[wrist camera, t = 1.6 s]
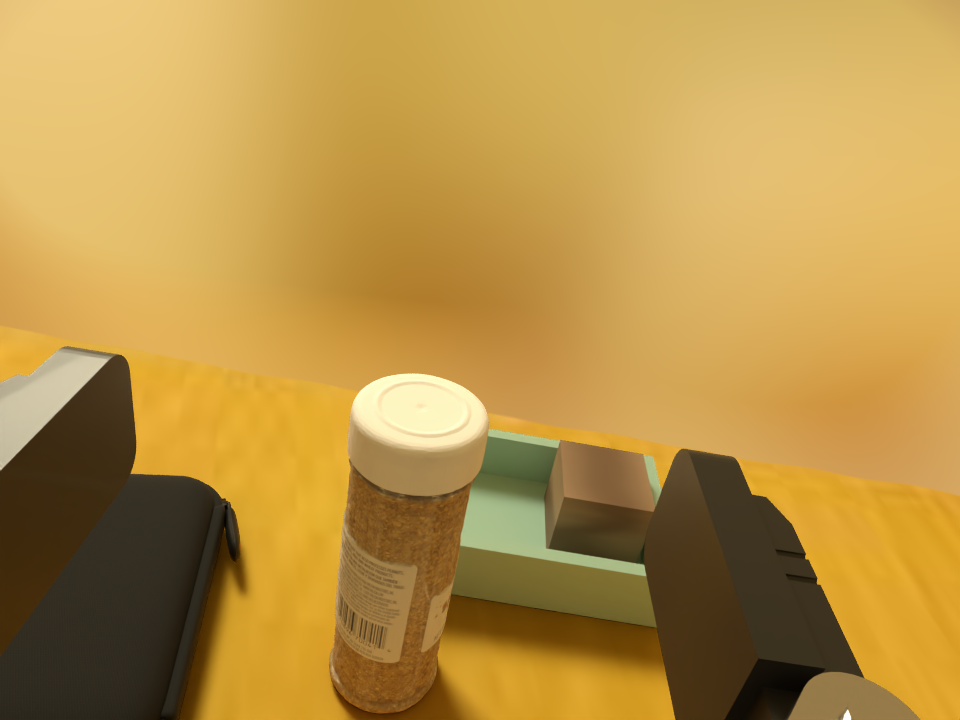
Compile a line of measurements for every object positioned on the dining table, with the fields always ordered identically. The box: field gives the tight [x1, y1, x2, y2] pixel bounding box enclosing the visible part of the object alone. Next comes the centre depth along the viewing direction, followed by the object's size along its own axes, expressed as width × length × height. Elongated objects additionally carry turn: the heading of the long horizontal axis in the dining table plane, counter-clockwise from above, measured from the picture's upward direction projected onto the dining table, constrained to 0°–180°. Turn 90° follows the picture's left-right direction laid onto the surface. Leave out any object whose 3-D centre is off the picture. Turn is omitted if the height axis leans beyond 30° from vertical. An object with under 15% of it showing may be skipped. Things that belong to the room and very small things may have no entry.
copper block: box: [544, 440, 655, 563], centre depth 37 cm, size 4×4×4 cm
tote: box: [451, 429, 661, 628], centre depth 37 cm, size 15×9×3 cm, turn 87°
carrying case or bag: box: [0, 474, 241, 720], centre depth 29 cm, size 11×3×15 cm
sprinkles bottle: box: [329, 374, 489, 713], centre depth 27 cm, size 5×5×14 cm
